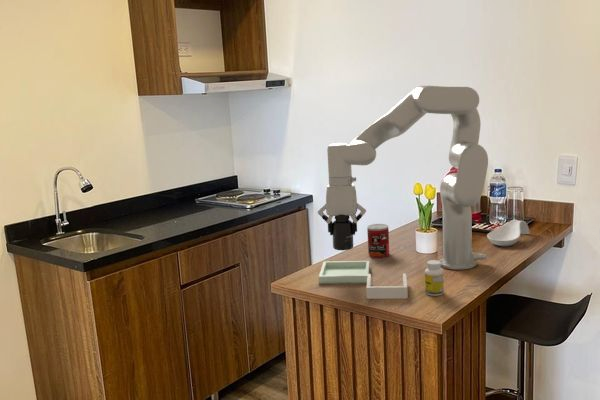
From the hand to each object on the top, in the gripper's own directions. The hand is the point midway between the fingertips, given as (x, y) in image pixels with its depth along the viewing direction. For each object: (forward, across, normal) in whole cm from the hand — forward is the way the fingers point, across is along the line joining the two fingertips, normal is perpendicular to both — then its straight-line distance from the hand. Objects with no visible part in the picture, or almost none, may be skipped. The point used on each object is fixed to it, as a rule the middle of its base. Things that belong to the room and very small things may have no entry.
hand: (342, 233), depth 192 cm
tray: (+15, 0, 0) cm, 15 cm away
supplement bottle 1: (+5, 0, 0) cm, 5 cm away
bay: (+15, -14, +15) cm, 25 cm away
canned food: (+15, -11, -23) cm, 30 cm away
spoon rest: (+15, -61, -39) cm, 74 cm away
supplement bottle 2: (+15, -28, +17) cm, 36 cm away
